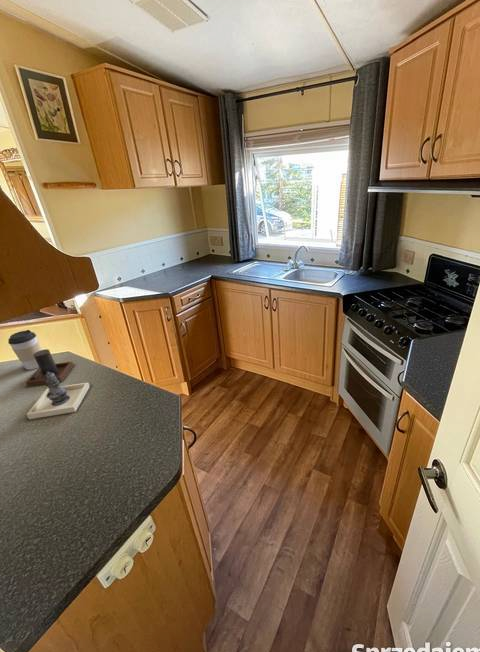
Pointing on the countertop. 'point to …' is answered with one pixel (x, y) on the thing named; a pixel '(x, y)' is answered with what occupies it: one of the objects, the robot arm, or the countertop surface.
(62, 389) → the marbled chess pawn
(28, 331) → the coffee cup
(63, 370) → the dark tray
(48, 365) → the dark gray cylinder
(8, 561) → the countertop surface
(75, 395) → the light tray
